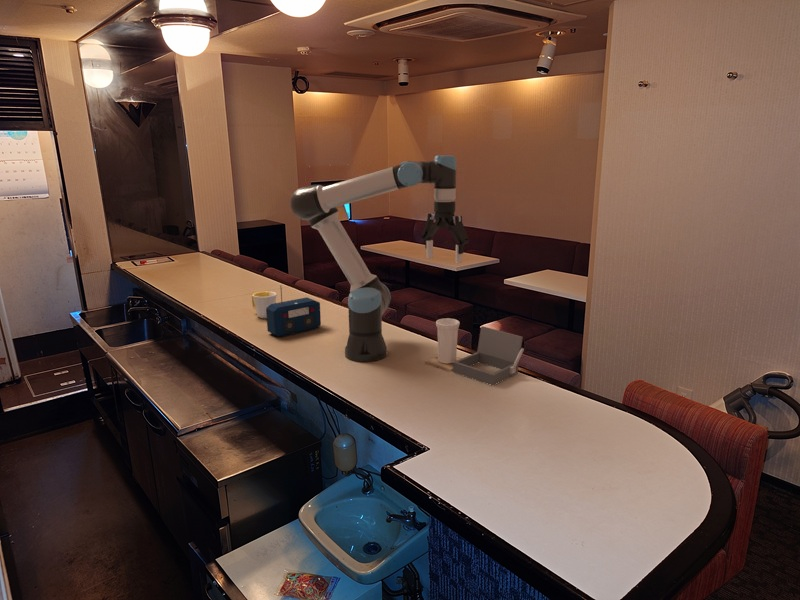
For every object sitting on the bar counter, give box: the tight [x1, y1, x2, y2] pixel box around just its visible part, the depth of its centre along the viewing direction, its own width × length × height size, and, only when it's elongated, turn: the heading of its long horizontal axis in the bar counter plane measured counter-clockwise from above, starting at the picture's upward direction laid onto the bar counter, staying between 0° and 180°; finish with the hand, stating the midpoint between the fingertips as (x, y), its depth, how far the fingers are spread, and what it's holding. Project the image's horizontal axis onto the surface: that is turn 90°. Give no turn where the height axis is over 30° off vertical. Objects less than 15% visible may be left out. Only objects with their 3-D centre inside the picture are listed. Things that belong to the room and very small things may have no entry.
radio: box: [266, 284, 322, 338], centre depth 220 cm, size 21×9×20 cm, turn 129°
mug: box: [251, 291, 277, 319], centre depth 243 cm, size 14×10×10 cm
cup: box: [435, 317, 461, 363], centre depth 186 cm, size 8×8×14 cm
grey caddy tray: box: [452, 325, 525, 386], centre depth 178 cm, size 16×17×12 cm
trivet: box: [424, 356, 463, 372], centre depth 188 cm, size 11×11×1 cm
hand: (443, 260), depth 197 cm, fingers open, 13 cm apart
